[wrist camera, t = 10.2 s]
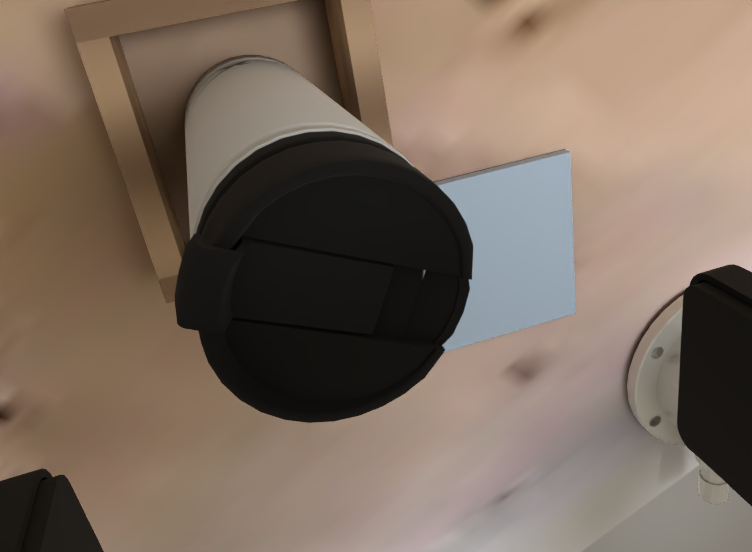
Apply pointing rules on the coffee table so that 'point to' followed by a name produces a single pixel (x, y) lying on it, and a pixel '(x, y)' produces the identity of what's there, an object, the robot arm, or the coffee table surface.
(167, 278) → the wooden tray
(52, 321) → the coffee table surface
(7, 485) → the robot arm
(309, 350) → the travel mug
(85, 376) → the coffee table surface
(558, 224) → the pad
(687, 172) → the coffee table surface
